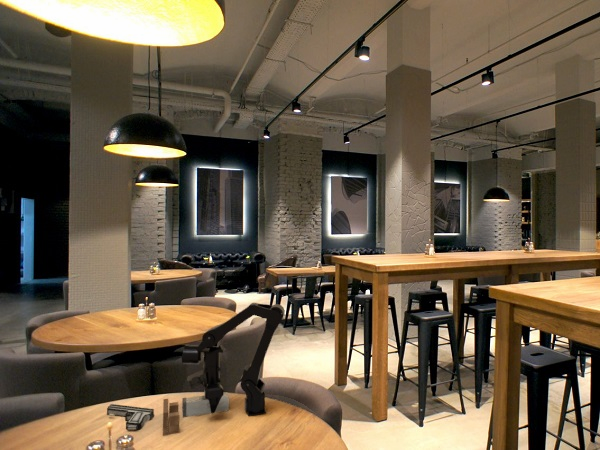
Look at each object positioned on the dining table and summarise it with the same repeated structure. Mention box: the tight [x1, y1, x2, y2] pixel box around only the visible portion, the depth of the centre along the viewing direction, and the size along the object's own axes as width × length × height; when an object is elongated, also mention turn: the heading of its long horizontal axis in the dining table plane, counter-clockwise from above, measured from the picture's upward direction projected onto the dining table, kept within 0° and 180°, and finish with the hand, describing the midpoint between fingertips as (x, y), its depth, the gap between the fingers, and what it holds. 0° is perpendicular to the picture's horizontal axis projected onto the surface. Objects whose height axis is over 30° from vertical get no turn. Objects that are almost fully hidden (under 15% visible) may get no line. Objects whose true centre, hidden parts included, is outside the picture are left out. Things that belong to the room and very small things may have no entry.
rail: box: [181, 391, 230, 418], centre depth 134 cm, size 16×4×5 cm, turn 110°
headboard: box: [162, 398, 180, 436], centre depth 124 cm, size 5×11×7 cm, turn 20°
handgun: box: [106, 403, 155, 431], centre depth 127 cm, size 3×19×12 cm
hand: (211, 407), depth 135 cm, fingers open, 9 cm apart
